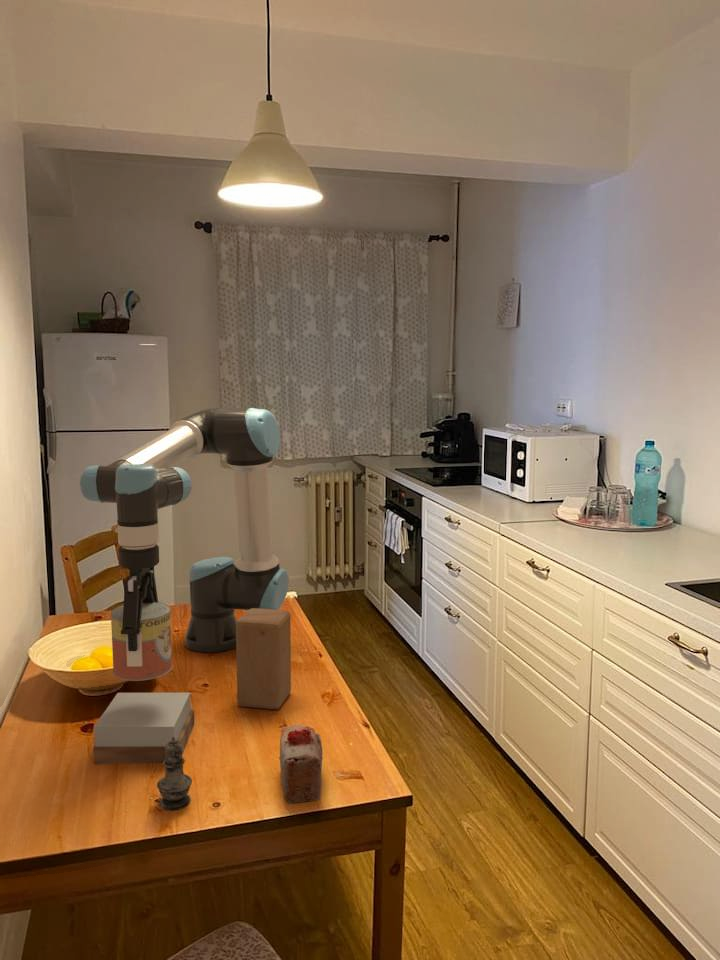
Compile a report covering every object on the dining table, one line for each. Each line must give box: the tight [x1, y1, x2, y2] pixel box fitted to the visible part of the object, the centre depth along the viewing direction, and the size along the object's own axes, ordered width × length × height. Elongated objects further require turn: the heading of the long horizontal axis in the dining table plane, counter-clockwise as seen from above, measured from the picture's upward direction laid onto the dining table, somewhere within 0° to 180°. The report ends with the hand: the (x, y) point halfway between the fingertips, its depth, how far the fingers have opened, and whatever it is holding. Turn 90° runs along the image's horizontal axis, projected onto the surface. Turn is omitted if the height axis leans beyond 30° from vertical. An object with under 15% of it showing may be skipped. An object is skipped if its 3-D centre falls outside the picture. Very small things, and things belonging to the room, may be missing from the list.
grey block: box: [93, 692, 192, 747], centre depth 149 cm, size 15×15×4 cm
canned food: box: [110, 601, 173, 682], centre depth 146 cm, size 11×11×12 cm
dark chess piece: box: [156, 737, 193, 812], centre depth 128 cm, size 6×6×12 cm
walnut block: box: [92, 708, 195, 765], centre depth 149 cm, size 16×16×4 cm
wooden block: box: [235, 608, 292, 710], centre depth 168 cm, size 10×10×20 cm
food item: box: [278, 724, 324, 804], centre depth 135 cm, size 14×8×10 cm, turn 10°
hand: (142, 654), depth 147 cm, fingers closed on canned food, 11 cm apart
